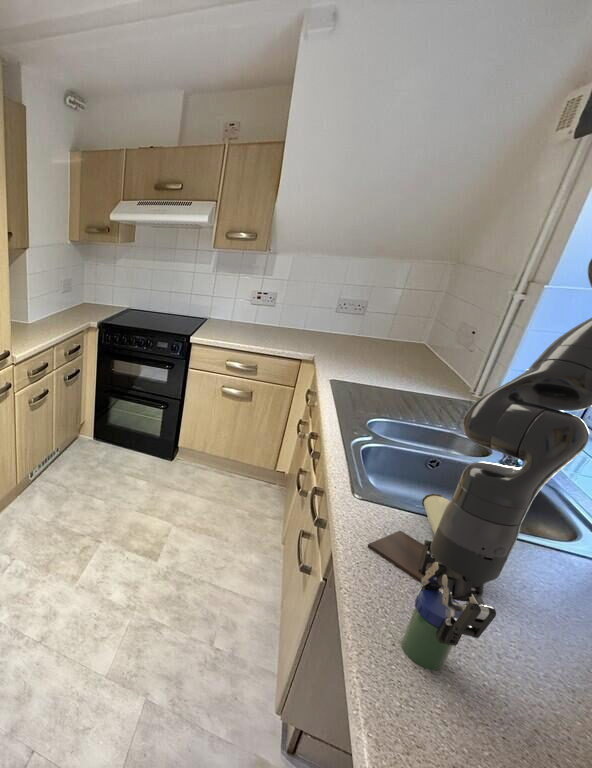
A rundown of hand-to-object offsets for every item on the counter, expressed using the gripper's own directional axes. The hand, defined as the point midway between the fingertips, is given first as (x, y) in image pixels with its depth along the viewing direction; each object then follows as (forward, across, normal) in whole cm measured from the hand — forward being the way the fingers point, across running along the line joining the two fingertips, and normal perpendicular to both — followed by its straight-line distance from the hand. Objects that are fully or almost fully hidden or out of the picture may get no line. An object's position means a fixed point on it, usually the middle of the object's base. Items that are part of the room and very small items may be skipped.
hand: (434, 623), depth 63 cm
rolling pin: (+6, -31, +16) cm, 35 cm away
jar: (+7, 0, 0) cm, 7 cm away
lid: (-3, 0, 0) cm, 3 cm away
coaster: (+6, -24, +8) cm, 26 cm away
